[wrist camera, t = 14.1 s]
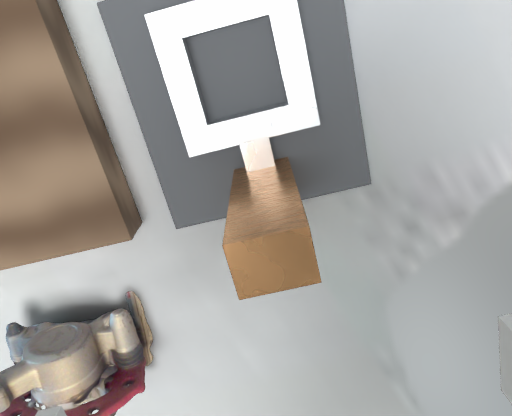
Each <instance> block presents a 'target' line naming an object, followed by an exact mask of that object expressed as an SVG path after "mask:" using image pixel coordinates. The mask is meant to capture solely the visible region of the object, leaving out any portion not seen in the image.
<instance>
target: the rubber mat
mask: <svg viewBox="0 0 512 416" xmlns="http://www.w3.org/2000/svg"><path fill="white" fill-rule="evenodd" d="M192 1H195V0H105V1H102V2H98V3H97V6H98V8H99V11H100V14H101V17H102V20H103V23H104V25H105V28H106V31H107V34H108V37H109V40H110V42H111V45H112V48H113V51H114V54H115V57H116V59H117V62H118V65H119V68H120V71H121V74H122V76H123V79H124V82H125V85H126V88H127V91H128V93H129V96H130V99H131V102H132V105H133V108H134V110H135V113H136V116H137V119H138V122H139V125H140V127H141V130H142V133H143V136H144V139H145V142H146V144H147V147H148V150H149V153H150V156H151V159H152V161H153V164H154V167H155V170H156V173H157V176H158V178H159V181H160V184H161V187H162V190H163V193H164V195H165V198H166V201H167V204H168V207H169V210H170V212H171V215H172V218H173V221H174V224H175V227H176V229H179V228H183V227H188V226H192V225H196V224H200V223H205V222H209V221H213V220H218V219H222V218H226V217H227V212H228V205H229V199H230V192H231V185H232V179H233V172H234V170H235V169H239V168H243V167H245V163H244V160H243V156H242V152H241V148H240V145H237V146H233V147H229V148H225V149H220V150H216V151H212V152H208V153H204V154H200V155H196V156H192V157H189V154H188V151H187V148H186V144H185V141H184V138H183V135H182V132H181V129H180V125H179V122H178V119H177V116H176V113H175V110H174V107H173V103H172V100H171V97H170V94H169V91H168V88H167V84H166V81H165V78H164V75H163V72H162V69H161V66H160V62H159V59H158V56H157V53H156V50H155V47H154V43H153V40H152V37H151V34H150V31H149V28H148V24H147V21H146V18H145V14H149V13H152V12H156V11H160V10H163V9H167V8H170V7H174V6H177V5H181V4H185V3H188V2H192ZM297 4H298V9H299V14H300V20H301V25H302V30H303V36H304V41H305V46H306V51H307V57H308V62H309V67H310V73H311V78H312V83H313V89H314V94H315V99H316V104H317V110H318V115H319V120H320V125H318V126H314V127H310V128H306V129H302V130H297V131H293V132H289V133H285V134H281V135H277V136H273V137H269V140H270V144H271V148H272V152H273V157H274V160H276V159H280V158H285V157H288V159H289V162H290V165H291V168H292V172H293V175H294V178H295V181H296V185H297V188H298V191H299V195H300V198H301V200H304V199H308V198H313V197H317V196H321V195H326V194H330V193H334V192H339V191H343V190H347V189H351V188H356V187H360V186H364V185H369V184H371V179H370V172H369V166H368V159H367V152H366V146H365V139H364V132H363V126H362V119H361V113H360V106H359V99H358V93H357V86H356V79H355V73H354V66H353V59H352V53H351V46H350V39H349V33H348V26H347V20H346V13H345V6H344V0H297ZM185 39H186V43H187V46H188V50H189V53H190V57H191V60H192V64H193V67H194V70H195V74H196V77H197V81H198V84H199V88H200V91H201V95H202V98H203V102H204V105H205V109H206V112H207V115H208V119H209V122H210V121H214V120H218V119H222V118H226V117H230V116H234V115H238V114H241V113H245V112H249V111H253V110H257V109H261V108H265V107H269V106H273V105H277V104H281V103H285V102H287V100H286V95H285V90H284V86H283V81H282V76H281V72H280V67H279V62H278V58H277V53H276V48H275V44H274V39H273V35H272V30H271V25H270V21H269V16H265V17H261V18H257V19H254V20H250V21H246V22H243V23H239V24H235V25H232V26H228V27H224V28H221V29H217V30H213V31H210V32H206V33H202V34H199V35H195V36H191V37H188V38H185Z"/></svg>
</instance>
